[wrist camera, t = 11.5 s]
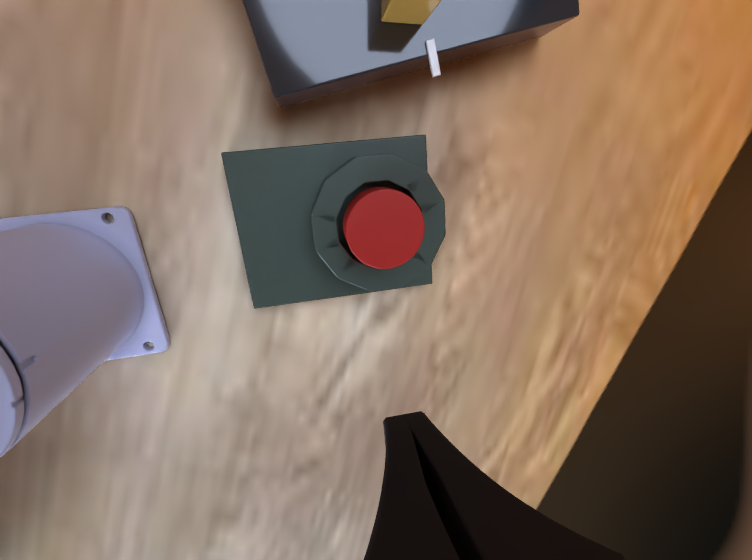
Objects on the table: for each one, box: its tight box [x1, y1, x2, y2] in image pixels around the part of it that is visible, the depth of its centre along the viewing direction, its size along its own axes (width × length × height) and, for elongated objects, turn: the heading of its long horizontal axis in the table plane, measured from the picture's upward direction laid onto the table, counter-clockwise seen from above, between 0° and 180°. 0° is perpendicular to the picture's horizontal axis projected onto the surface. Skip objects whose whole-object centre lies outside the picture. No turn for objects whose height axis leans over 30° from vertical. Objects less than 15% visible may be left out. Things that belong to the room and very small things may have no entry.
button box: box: [221, 135, 445, 308], centre depth 19 cm, size 10×8×3 cm
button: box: [343, 187, 425, 269], centre depth 17 cm, size 4×4×2 cm
